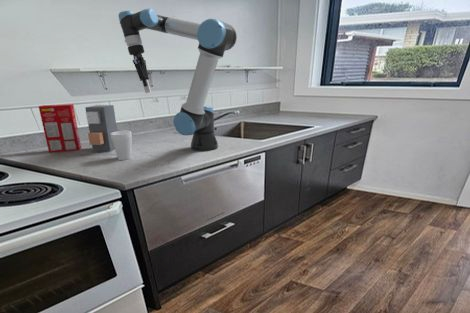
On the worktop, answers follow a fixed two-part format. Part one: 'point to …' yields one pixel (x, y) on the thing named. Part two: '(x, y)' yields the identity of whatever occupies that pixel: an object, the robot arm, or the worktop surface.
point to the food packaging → (60, 127)
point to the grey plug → (93, 117)
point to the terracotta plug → (96, 138)
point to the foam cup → (122, 144)
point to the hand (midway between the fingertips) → (148, 92)
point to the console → (104, 126)
